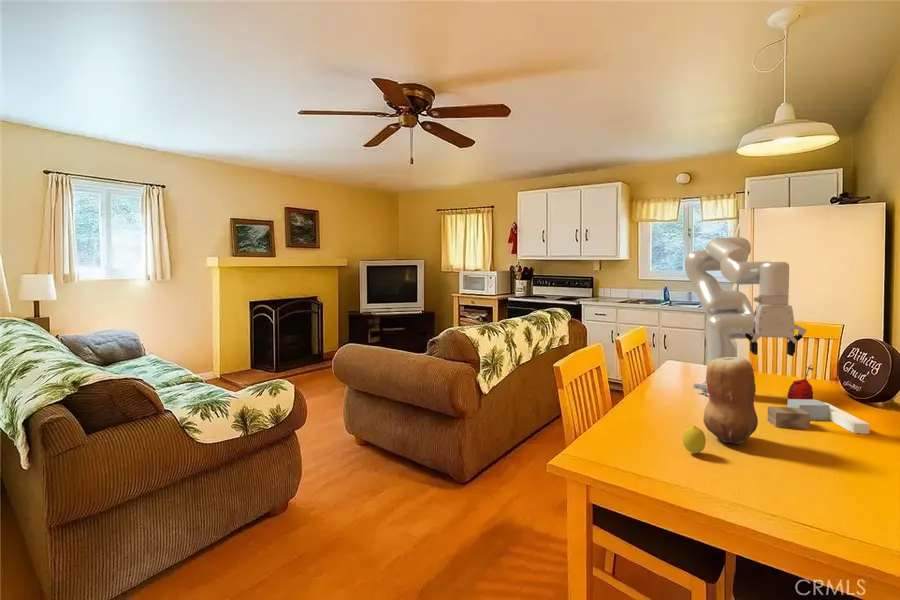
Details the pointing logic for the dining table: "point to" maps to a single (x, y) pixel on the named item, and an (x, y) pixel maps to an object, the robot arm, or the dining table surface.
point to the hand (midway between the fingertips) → (772, 354)
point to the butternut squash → (730, 399)
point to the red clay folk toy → (801, 389)
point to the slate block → (811, 408)
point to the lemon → (694, 439)
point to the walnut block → (788, 417)
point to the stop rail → (848, 421)
